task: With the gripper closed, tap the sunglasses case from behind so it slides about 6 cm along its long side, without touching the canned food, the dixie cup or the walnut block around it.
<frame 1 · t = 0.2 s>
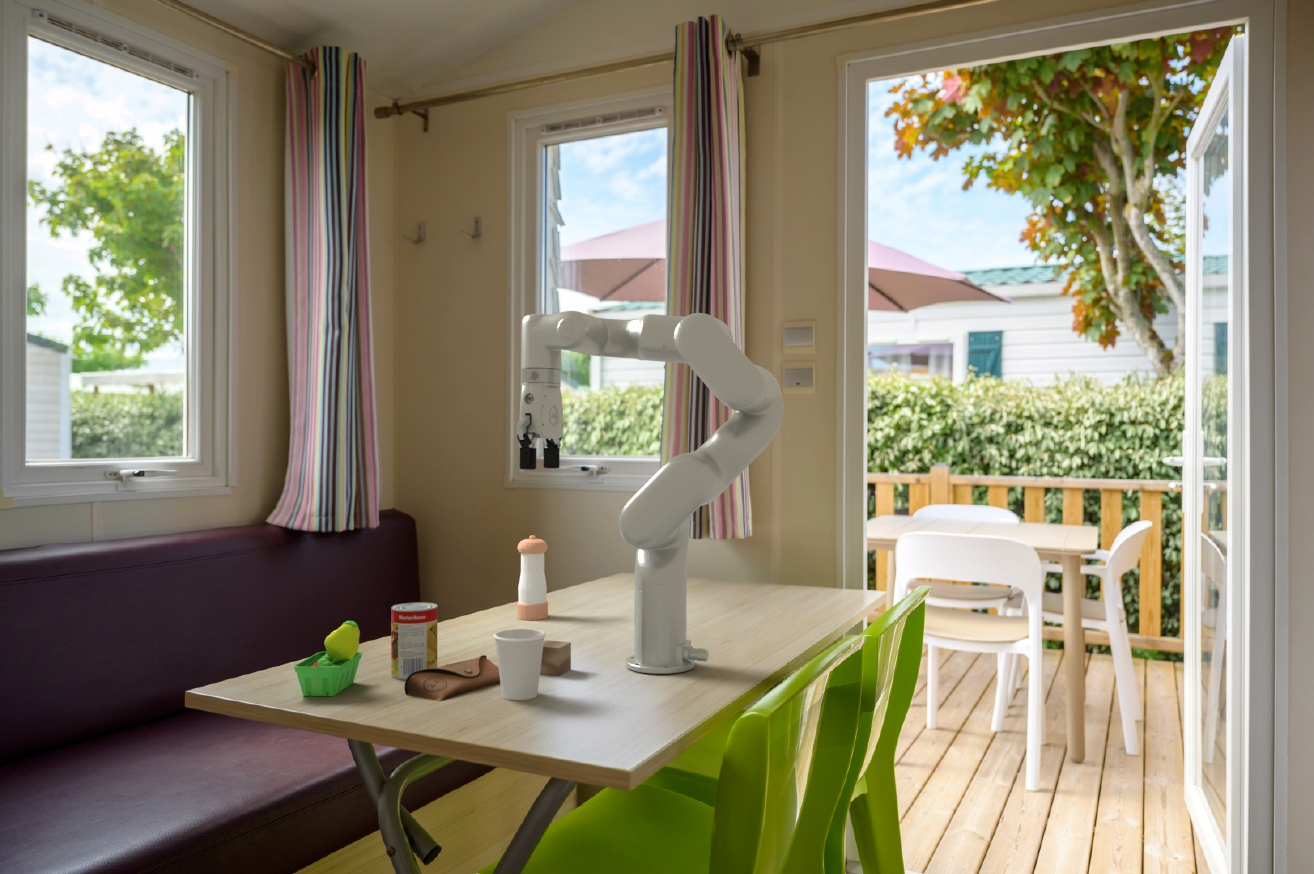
hand: (539, 468, 177), 36 cm above the table, tool pointing down, fingers open, 9 cm apart
walnut block: (552, 672, 165), on the table
sunglasses case: (462, 690, 155), on the table
canned food: (414, 675, 163), on the table
dixie cup: (519, 696, 149), on the table
pepper shaker: (532, 618, 217), on the table
fruit basket: (332, 690, 153), on the table
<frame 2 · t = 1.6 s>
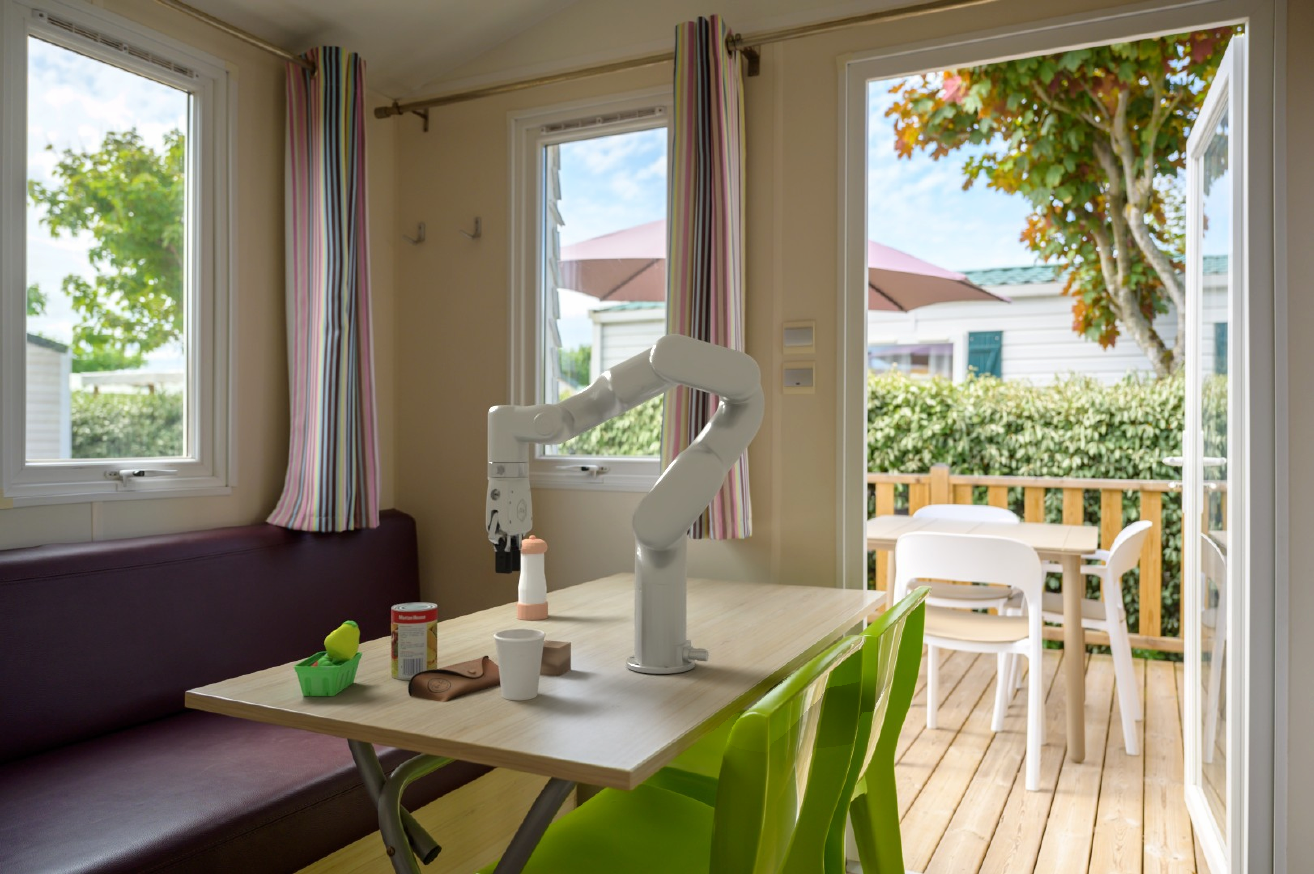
hand: (508, 571, 171), 17 cm above the table, tool pointing down, fingers closed
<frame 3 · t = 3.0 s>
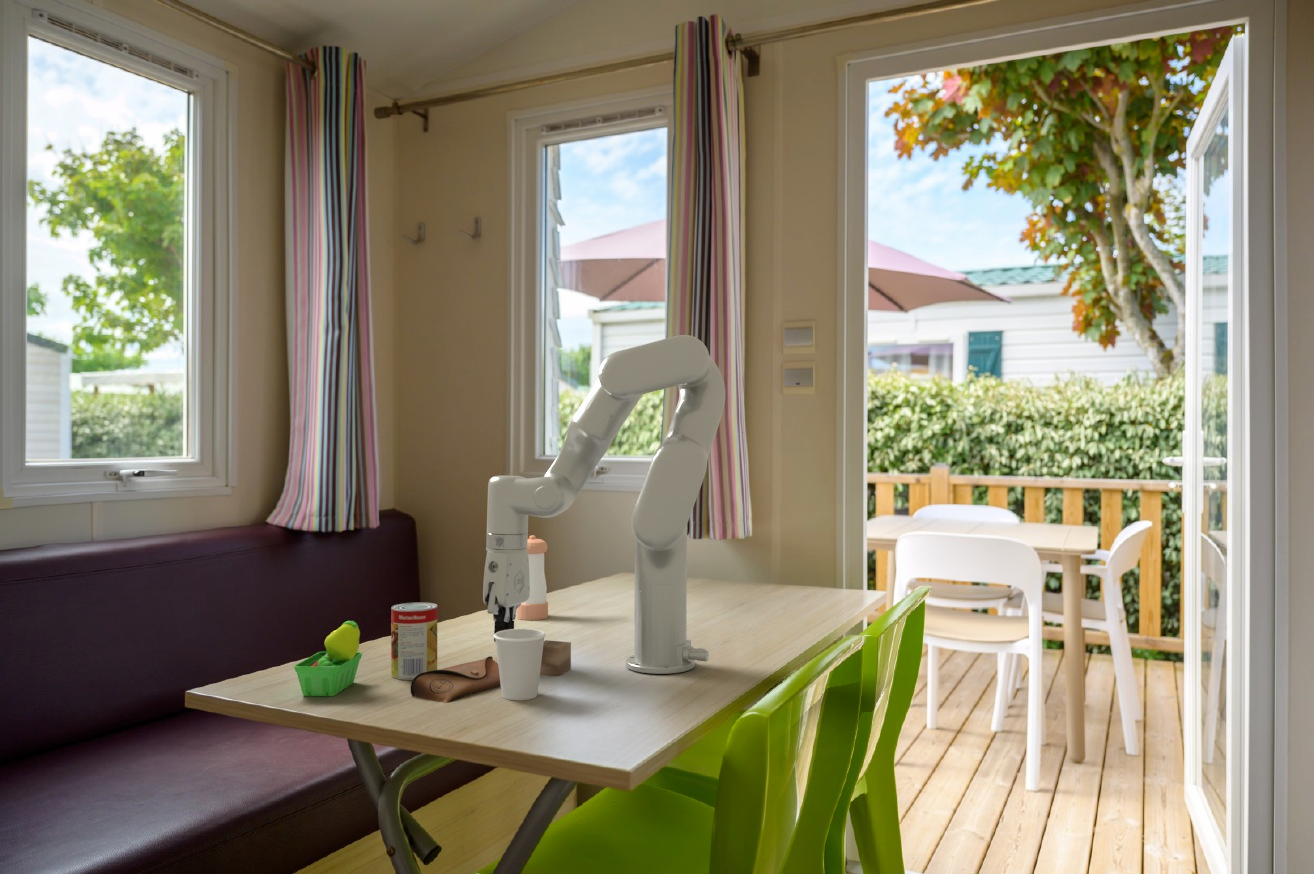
hand: (503, 641, 170), 4 cm above the table, tool pointing down, fingers closed
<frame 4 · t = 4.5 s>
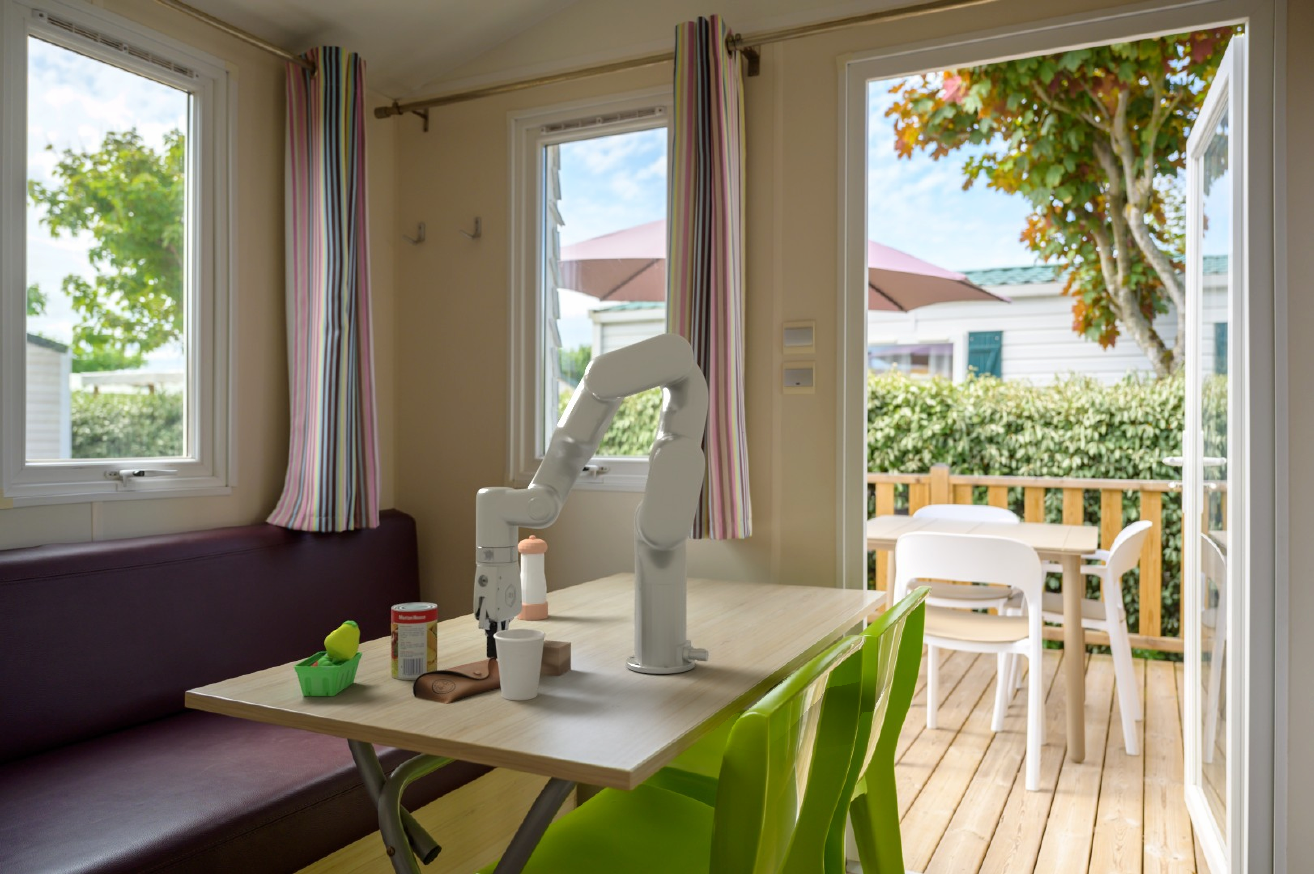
hand: (496, 657, 167), 2 cm above the table, tool pointing down, fingers closed
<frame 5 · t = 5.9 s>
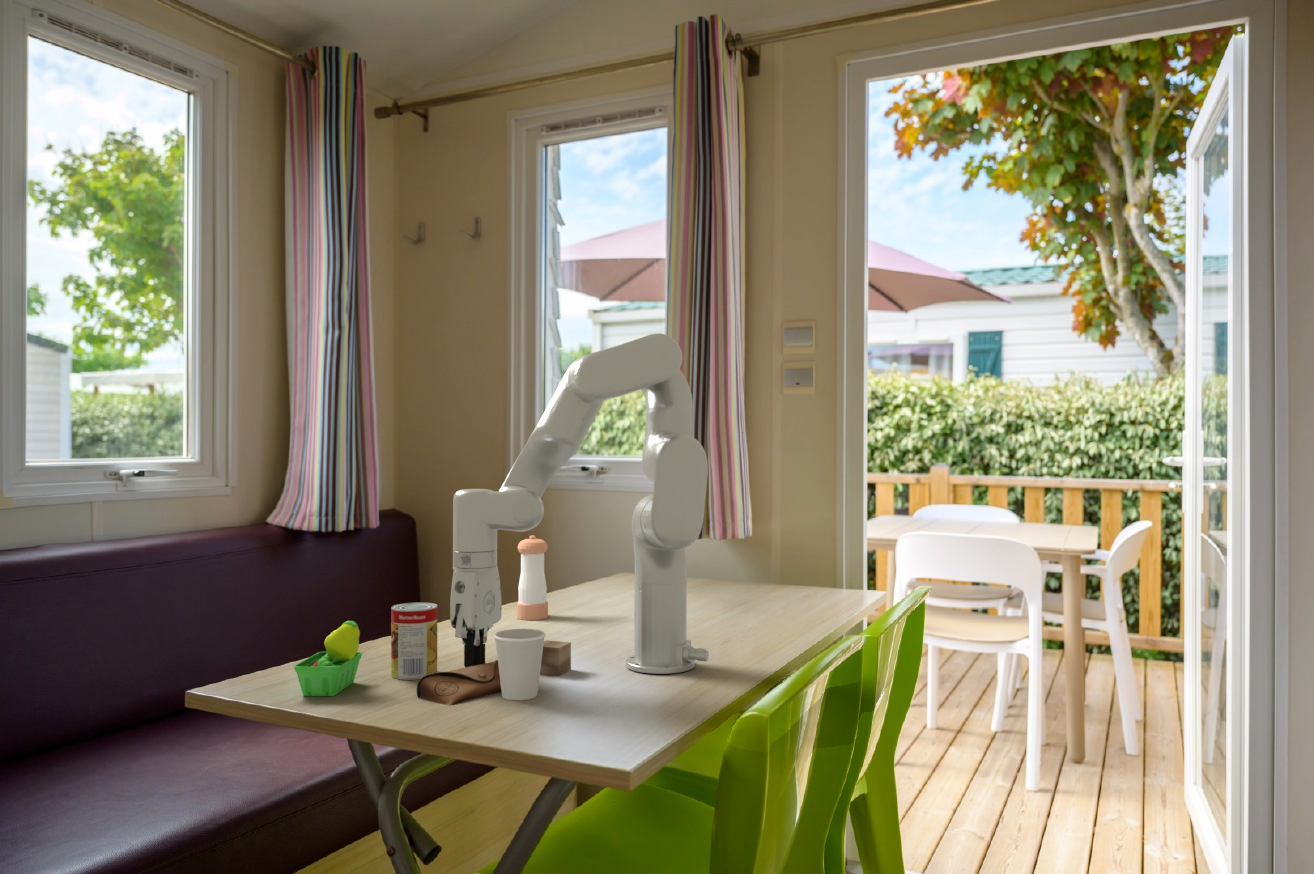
hand: (474, 666, 159), 2 cm above the table, tool pointing down, fingers closed
sunglasses case: (476, 694, 153), on the table
everything else where it was.
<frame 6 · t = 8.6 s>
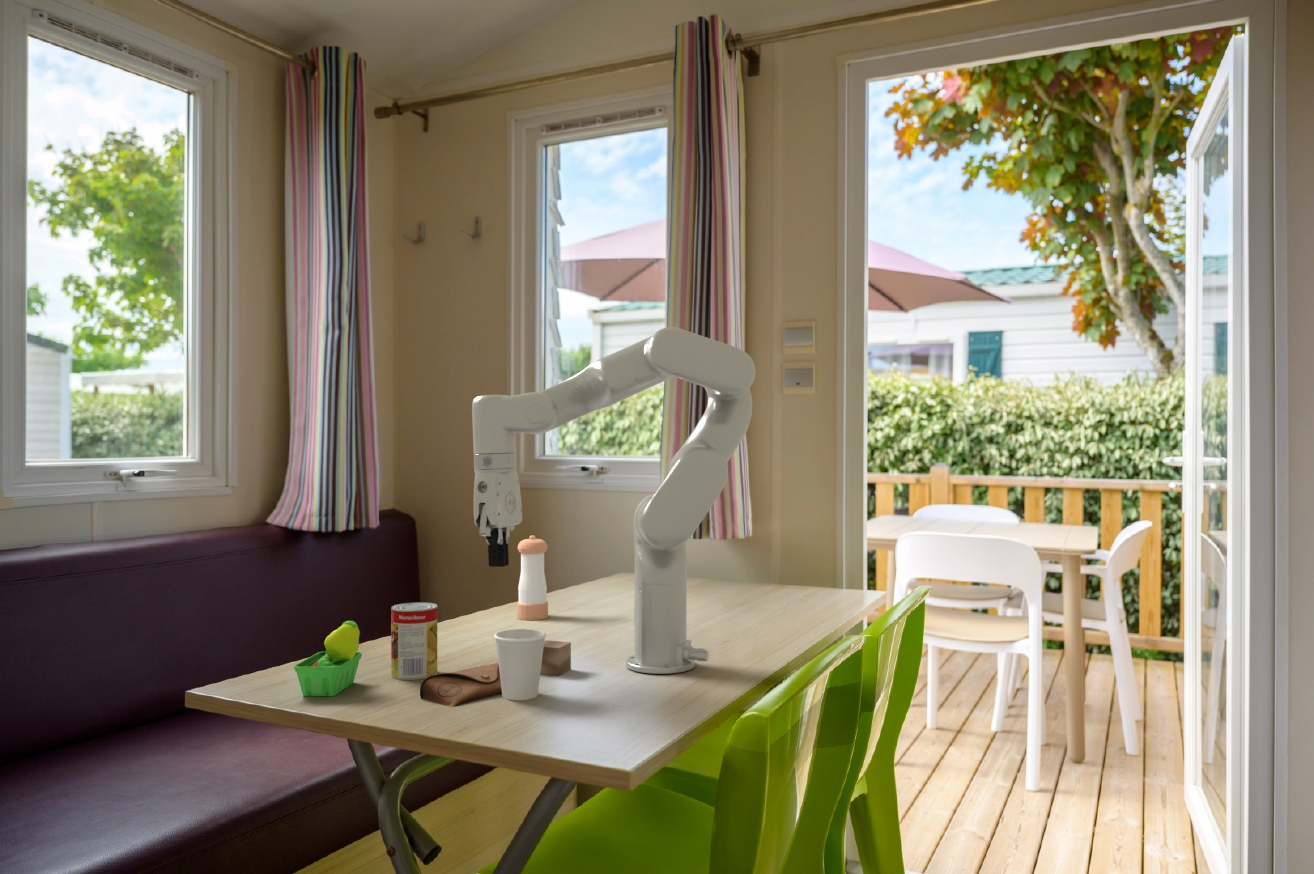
hand: (498, 565, 166), 19 cm above the table, tool pointing down, fingers closed
sunglasses case: (480, 695, 152), on the table
everything else where it was.
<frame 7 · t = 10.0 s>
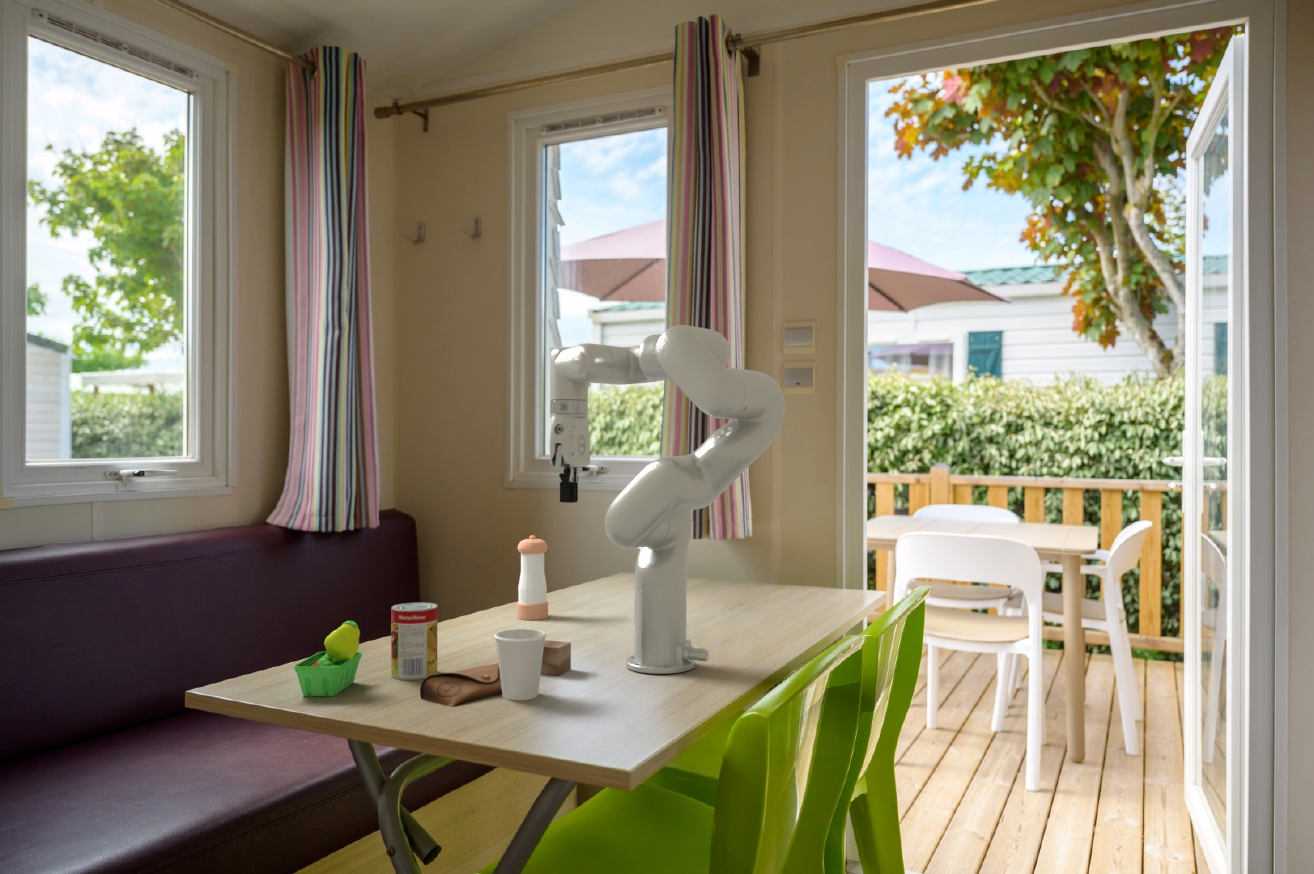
hand: (568, 502, 184), 29 cm above the table, tool pointing down, fingers closed
nothing on the table moved.
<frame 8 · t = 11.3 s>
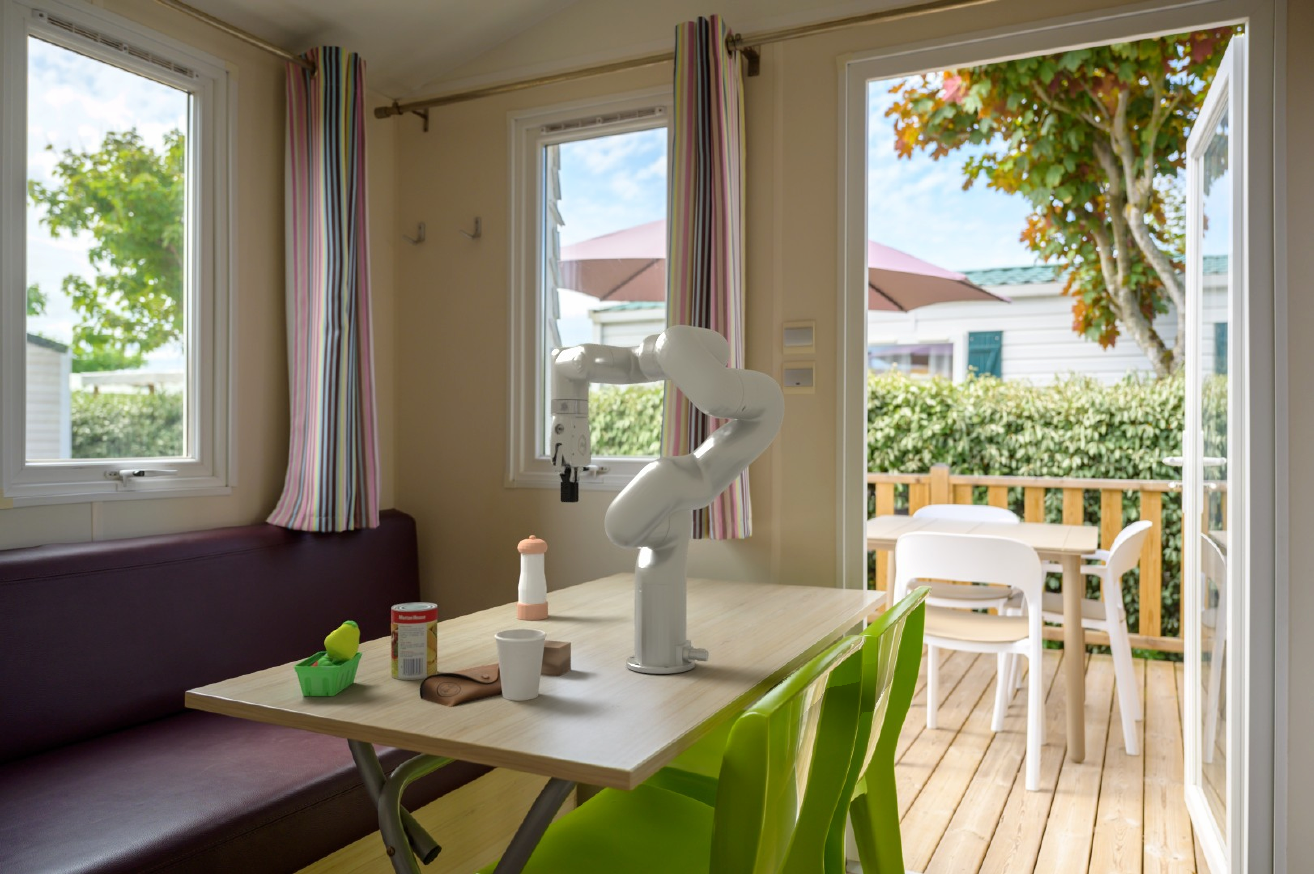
hand: (569, 501, 184), 29 cm above the table, tool pointing down, fingers closed
nothing on the table moved.
at the end: sunglasses case moved 5.4 cm from its start; canned food moved 0.2 cm from its start; dixie cup moved 0.3 cm from its start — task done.
